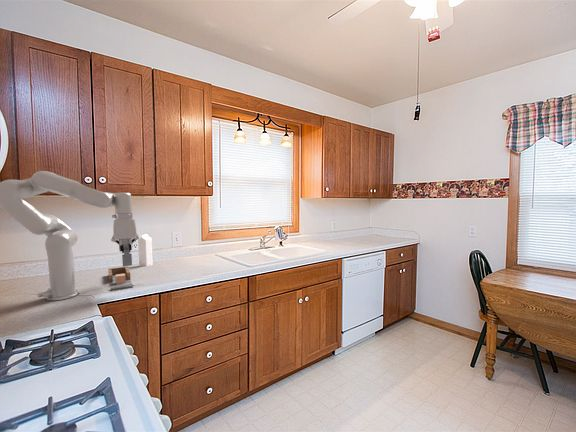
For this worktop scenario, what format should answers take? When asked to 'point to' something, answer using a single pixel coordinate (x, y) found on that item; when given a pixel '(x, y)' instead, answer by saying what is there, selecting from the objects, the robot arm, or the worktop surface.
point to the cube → (120, 279)
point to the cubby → (112, 278)
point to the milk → (145, 251)
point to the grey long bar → (126, 253)
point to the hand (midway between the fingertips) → (126, 252)
